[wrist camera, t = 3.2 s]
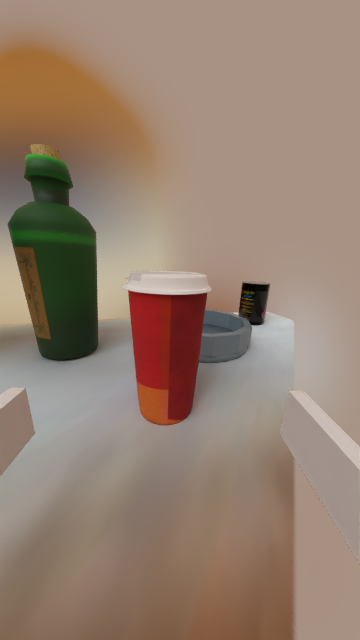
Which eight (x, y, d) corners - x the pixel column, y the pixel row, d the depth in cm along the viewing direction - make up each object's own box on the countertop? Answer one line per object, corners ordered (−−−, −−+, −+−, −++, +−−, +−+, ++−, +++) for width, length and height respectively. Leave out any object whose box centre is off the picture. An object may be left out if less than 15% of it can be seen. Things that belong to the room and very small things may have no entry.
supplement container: (261, 327, 50) (268, 284, 47) (234, 322, 53) (239, 282, 50) (265, 321, 56) (271, 282, 53) (241, 317, 59) (245, 280, 56)
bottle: (58, 337, 39) (34, 167, 31) (113, 339, 39) (103, 170, 31) (13, 364, 29) (-39, 122, 21) (88, 367, 29) (63, 125, 21)
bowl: (134, 340, 39) (133, 318, 38) (190, 321, 52) (191, 305, 51) (216, 375, 28) (219, 346, 27) (261, 340, 41) (264, 320, 40)
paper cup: (194, 383, 26) (201, 271, 22) (209, 432, 19) (224, 277, 15) (132, 385, 25) (128, 269, 21) (122, 437, 18) (113, 274, 14)
